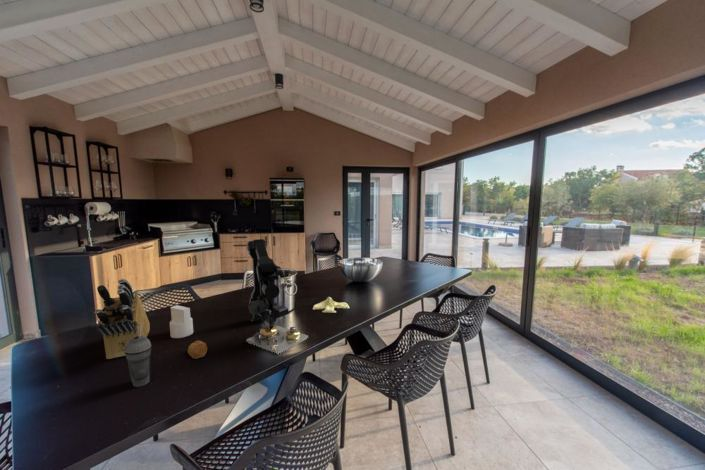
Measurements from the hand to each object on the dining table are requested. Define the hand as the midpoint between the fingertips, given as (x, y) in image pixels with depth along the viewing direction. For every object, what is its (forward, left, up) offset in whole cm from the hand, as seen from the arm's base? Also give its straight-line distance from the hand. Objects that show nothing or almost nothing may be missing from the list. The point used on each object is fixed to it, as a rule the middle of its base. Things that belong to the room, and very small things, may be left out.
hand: (268, 327), depth 131 cm
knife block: (-42, -36, -6) cm, 56 cm away
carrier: (+3, +2, -5) cm, 7 cm away
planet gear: (0, 0, -3) cm, 3 cm away
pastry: (-15, -23, -6) cm, 28 cm away
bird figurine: (-5, +47, -6) cm, 48 cm away
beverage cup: (-11, -44, -6) cm, 46 cm away
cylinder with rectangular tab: (-38, -17, -6) cm, 42 cm away
